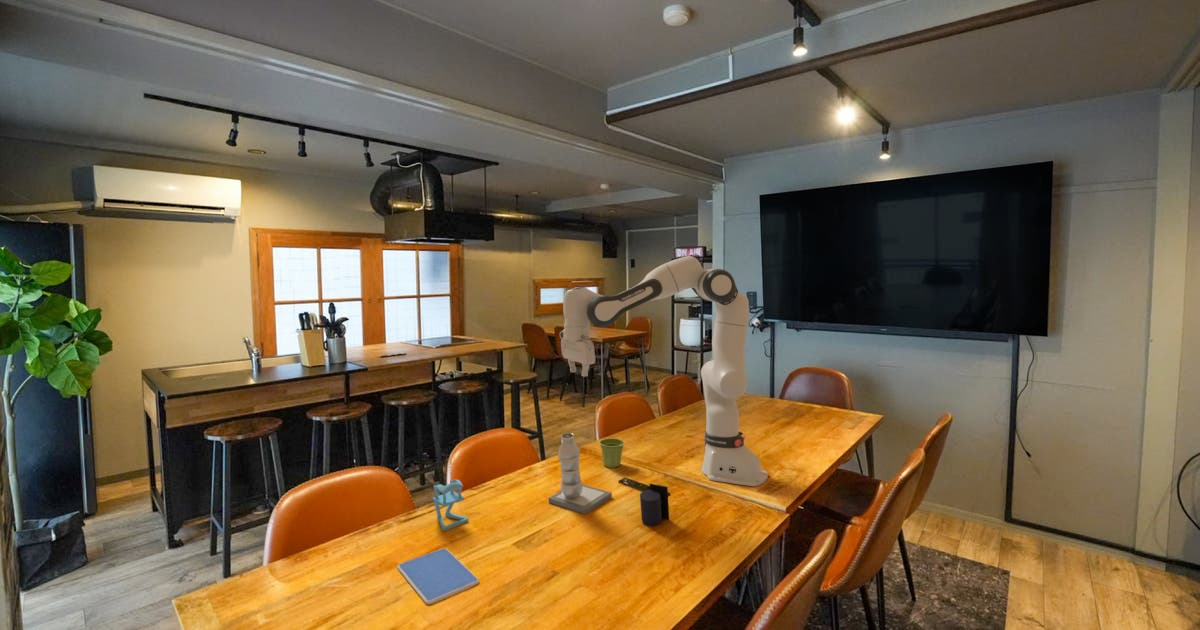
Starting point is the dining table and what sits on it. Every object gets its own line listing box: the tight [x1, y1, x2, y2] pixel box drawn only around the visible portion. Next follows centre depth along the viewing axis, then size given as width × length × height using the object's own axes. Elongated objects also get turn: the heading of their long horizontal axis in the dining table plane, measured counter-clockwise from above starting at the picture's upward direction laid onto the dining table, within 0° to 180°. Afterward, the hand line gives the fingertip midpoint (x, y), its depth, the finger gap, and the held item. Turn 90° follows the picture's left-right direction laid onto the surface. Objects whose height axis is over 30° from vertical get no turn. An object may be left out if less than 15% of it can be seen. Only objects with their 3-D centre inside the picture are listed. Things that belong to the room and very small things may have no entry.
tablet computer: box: [396, 548, 480, 605], centre depth 121 cm, size 19×13×1 cm, turn 40°
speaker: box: [639, 483, 670, 527], centre depth 145 cm, size 8×6×10 cm
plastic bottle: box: [557, 432, 583, 498], centre depth 156 cm, size 6×7×20 cm
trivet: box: [548, 483, 613, 515], centre depth 160 cm, size 14×14×2 cm
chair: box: [432, 479, 469, 531], centre depth 146 cm, size 8×8×12 cm
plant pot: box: [598, 437, 626, 469], centre depth 189 cm, size 9×9×9 cm
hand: (578, 374), depth 177 cm, fingers open, 8 cm apart
